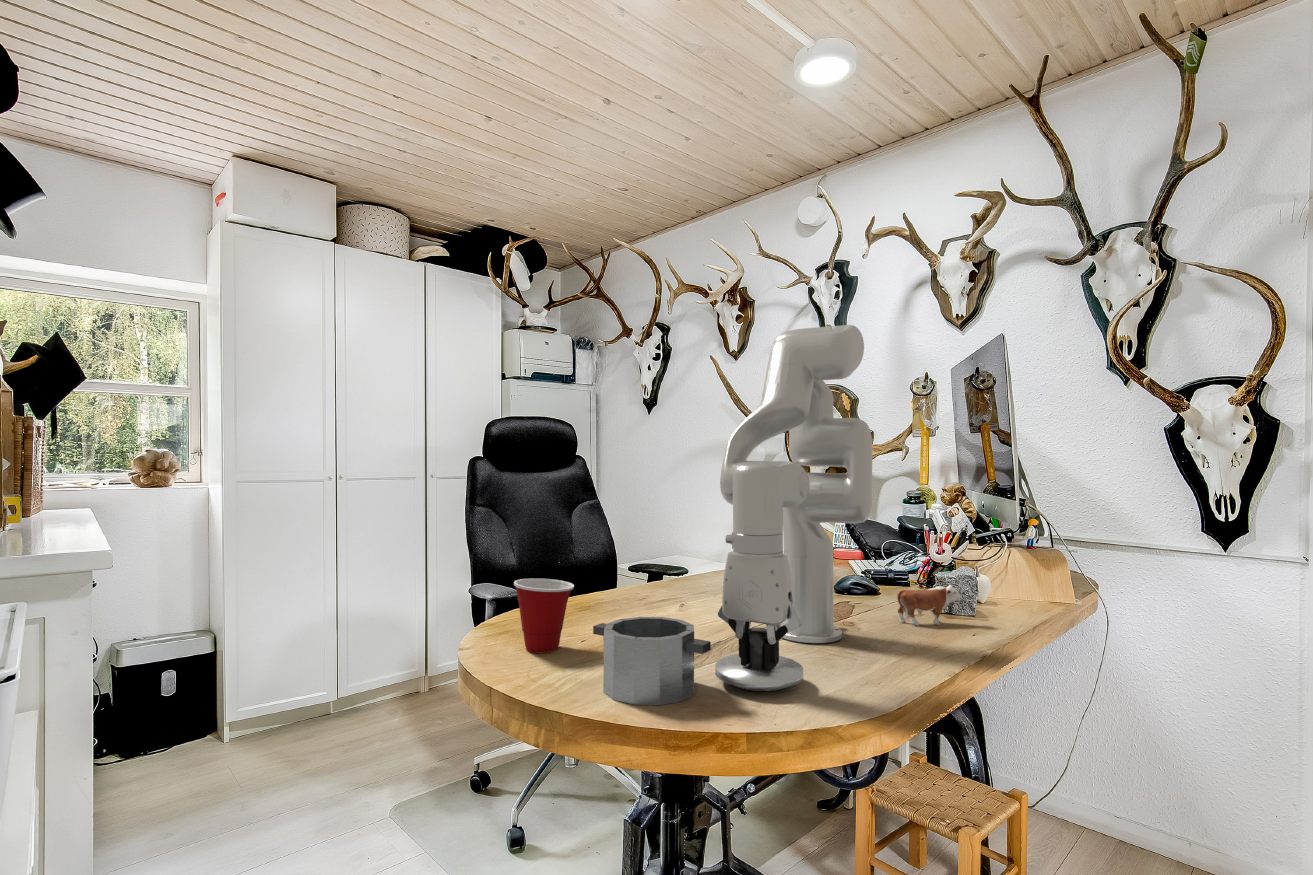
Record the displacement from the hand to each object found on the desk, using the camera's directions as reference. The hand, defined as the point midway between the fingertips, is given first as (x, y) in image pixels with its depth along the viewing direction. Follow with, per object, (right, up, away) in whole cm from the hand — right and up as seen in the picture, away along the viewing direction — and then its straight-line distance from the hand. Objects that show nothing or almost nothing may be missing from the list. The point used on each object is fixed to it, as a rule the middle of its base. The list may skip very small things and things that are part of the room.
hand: (758, 664), depth 99 cm
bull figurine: (+41, -5, +38) cm, 56 cm away
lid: (0, -2, 0) cm, 2 cm away
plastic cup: (-36, -4, +18) cm, 40 cm away
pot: (-17, -3, -2) cm, 17 cm away
